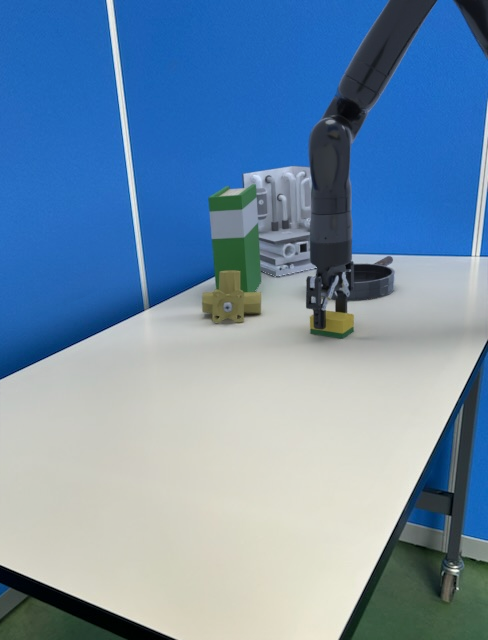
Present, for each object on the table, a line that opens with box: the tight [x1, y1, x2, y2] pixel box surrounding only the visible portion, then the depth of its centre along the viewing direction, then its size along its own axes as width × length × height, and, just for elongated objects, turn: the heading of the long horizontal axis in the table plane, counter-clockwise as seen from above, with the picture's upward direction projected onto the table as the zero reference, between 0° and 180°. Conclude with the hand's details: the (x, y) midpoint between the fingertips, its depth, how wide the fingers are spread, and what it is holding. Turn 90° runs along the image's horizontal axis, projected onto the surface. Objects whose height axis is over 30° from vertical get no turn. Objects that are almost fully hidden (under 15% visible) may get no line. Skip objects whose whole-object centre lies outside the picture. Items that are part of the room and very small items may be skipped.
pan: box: [321, 263, 396, 302], centre depth 144 cm, size 17×17×4 cm
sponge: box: [309, 310, 355, 339], centre depth 120 cm, size 7×4×4 cm, turn 50°
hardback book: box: [207, 184, 262, 293], centre depth 148 cm, size 18×7×24 cm, turn 164°
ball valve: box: [201, 270, 262, 324], centre depth 134 cm, size 13×10×10 cm
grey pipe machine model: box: [241, 165, 316, 278], centre depth 164 cm, size 16×19×25 cm
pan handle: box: [373, 255, 394, 267], centre depth 153 cm, size 2×11×2 cm, turn 140°
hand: (330, 322), depth 120 cm, fingers open, 8 cm apart
